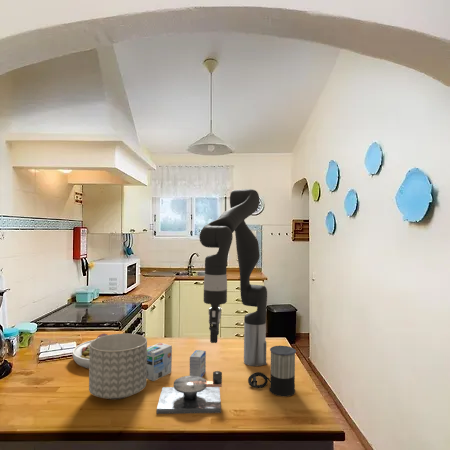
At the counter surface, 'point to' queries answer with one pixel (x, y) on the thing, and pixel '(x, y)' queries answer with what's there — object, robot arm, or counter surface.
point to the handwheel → (197, 383)
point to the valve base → (189, 401)
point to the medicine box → (198, 363)
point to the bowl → (83, 353)
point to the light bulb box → (159, 361)
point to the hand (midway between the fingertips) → (214, 338)
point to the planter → (117, 365)
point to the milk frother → (279, 372)
